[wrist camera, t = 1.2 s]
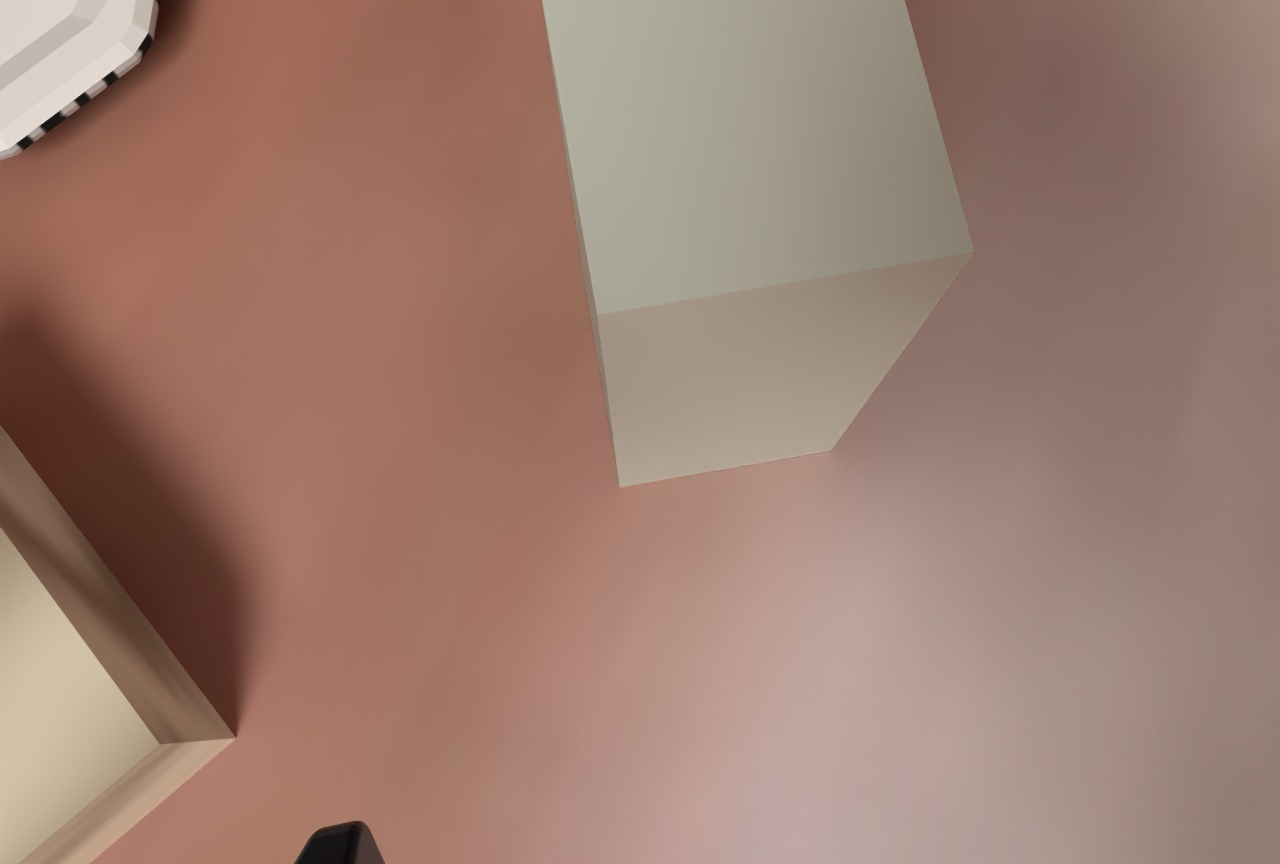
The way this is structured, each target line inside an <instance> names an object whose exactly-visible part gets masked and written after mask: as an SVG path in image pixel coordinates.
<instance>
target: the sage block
mask: <svg viewBox="0 0 1280 864" xmlns="http://www.w3.org/2000/svg"><path fill="white" fill-rule="evenodd" d="M542 4H543V11H544V18H545V24H546V31H547V38H548V44H549V51H550V58H551V64H552V71H553V77H554V84H555V91H556V97H557V104H558V111H559V117H560V124H561V131H562V137H563V144H564V150H565V157H566V164H567V170H568V177H569V184H570V190H571V197H572V204H573V210H574V217H575V224H576V230H577V237H578V243H579V250H580V257H581V263H582V270H583V277H584V283H585V290H586V296H587V301H588V307H589V313H590V319H591V324H592V330H593V336H594V342H595V348H596V353H597V359H598V365H599V371H600V376H601V382H602V388H603V394H604V400H605V405H606V411H607V417H608V423H609V428H610V434H611V440H612V446H613V452H614V457H615V463H616V469H617V475H618V480H619V486H620V487H625V486H631V485H637V484H643V483H649V482H654V481H660V480H666V479H672V478H677V477H683V476H689V475H695V474H701V473H706V472H712V471H718V470H724V469H730V468H735V467H741V466H747V465H753V464H758V463H764V462H770V461H776V460H782V459H787V458H793V457H799V456H805V455H811V454H816V453H822V452H828V451H831V450H832V449H833V447H834V446H835V445H836V443H837V442H838V440H839V439H840V438H841V436H842V435H843V434H844V432H845V431H846V429H847V428H848V427H849V425H850V424H851V423H852V421H853V420H854V418H855V417H856V416H857V414H858V413H859V411H860V410H861V409H862V407H863V406H864V405H865V403H866V402H867V400H868V399H869V398H870V396H871V395H872V394H873V392H874V391H875V389H876V388H877V387H878V385H879V384H880V382H881V381H882V380H883V378H884V377H885V376H886V374H887V373H888V371H889V370H890V369H891V367H892V366H893V365H894V363H895V362H896V360H897V359H898V358H899V356H900V355H901V353H902V352H903V351H904V349H905V348H906V347H907V345H908V344H909V342H910V341H911V340H912V338H913V337H914V336H915V334H916V333H917V331H918V330H919V329H920V327H921V326H922V325H923V323H924V322H925V320H926V319H927V318H928V316H929V315H930V313H931V312H932V311H933V309H934V308H935V307H936V305H937V304H938V302H939V301H940V300H941V298H942V297H943V296H944V294H945V293H946V291H947V290H948V289H949V287H950V286H951V284H952V283H953V282H954V280H955V279H956V278H957V276H958V275H959V273H960V272H961V271H962V269H963V268H964V267H965V265H966V264H967V262H968V261H969V260H970V258H971V257H972V255H973V254H974V253H975V251H974V247H973V243H972V240H971V236H970V233H969V229H968V226H967V222H966V218H965V215H964V211H963V208H962V204H961V200H960V197H959V193H958V190H957V186H956V183H955V179H954V175H953V172H952V168H951V165H950V161H949V157H948V154H947V150H946V147H945V143H944V139H943V136H942V132H941V129H940V125H939V122H938V118H937V114H936V111H935V107H934V104H933V100H932V96H931V93H930V89H929V86H928V82H927V79H926V75H925V71H924V68H923V64H922V61H921V57H920V53H919V50H918V46H917V43H916V39H915V36H914V32H913V28H912V25H911V21H910V18H909V14H908V10H907V7H906V3H905V0H542Z"/></svg>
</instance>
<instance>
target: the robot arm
mask: <svg viewBox="0 0 1280 864" xmlns="http://www.w3.org/2000/svg"><path fill="white" fill-rule="evenodd" d="M294 864H385V863H384V860H383V858H382V856H381V854H380V851H379V849H378V847H377V845H376V842H375V840H374V838H373V836H372V833H371V831H370V829H369V828H368V826H367V825H366V824H365V823H364V822H362V821H352V822H347V823H342V824H338V825H333V826H328V827H324V828H321V829H319V830H317V831H316V832H315V833H314V834H313V835H312V836H311V837H310V839H309V840H308V842H307V843H306V845H305V846H304V848H303V850H302V851H301V853H300V855H299V856H298V858H297V860H296V861H295V863H294Z"/></svg>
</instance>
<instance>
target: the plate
mask: <svg viewBox="0 0 1280 864" xmlns="http://www.w3.org/2000/svg"><path fill="white" fill-rule="evenodd" d="M159 4H160V0H0V160H3V159H6V158H9V157H12V156H15V155H18V154H19V153H21V152H22V151H23V150H25V149H26V148H27V147H29V146H30V145H31V144H32V143H34V142H35V141H36V140H38V139H39V138H40V137H42V136H43V135H44V134H46V133H47V132H48V131H50V130H51V129H52V128H54V127H55V126H56V125H58V124H59V123H60V122H62V121H63V120H64V119H66V118H67V117H68V116H70V115H71V114H72V113H74V112H75V111H76V110H78V109H79V108H80V107H81V106H83V105H84V104H85V103H87V102H88V101H89V100H91V99H92V98H93V97H95V96H96V95H97V94H99V93H100V92H101V91H103V90H104V89H105V88H107V87H108V86H109V85H111V84H112V83H113V82H115V81H116V80H117V79H119V78H120V77H121V76H123V75H124V74H125V73H127V72H128V71H129V70H131V69H132V68H133V67H134V66H136V65H137V64H138V63H140V61H141V60H142V58H143V57H144V55H145V53H146V52H147V50H148V49H149V47H150V46H151V44H152V42H153V40H154V34H155V28H156V22H157V16H158V10H159Z"/></svg>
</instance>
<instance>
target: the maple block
mask: <svg viewBox="0 0 1280 864" xmlns="http://www.w3.org/2000/svg"><path fill="white" fill-rule="evenodd" d="M235 739H236V737H235V735H234V734H233V733H232V731H231V730H230V729H229V728H228V726H227V725H226V724H225V722H224V721H223V720H222V718H221V717H220V716H219V714H218V713H217V712H216V710H215V709H214V708H213V706H212V705H211V704H210V702H209V701H208V700H207V698H206V697H205V696H204V694H203V693H202V692H201V690H200V689H199V688H198V686H197V685H196V684H195V682H194V681H193V680H192V678H191V677H190V676H189V674H188V673H187V672H186V670H185V669H184V668H183V666H182V665H181V664H180V663H179V661H178V660H177V659H176V657H175V656H174V655H173V653H172V652H171V651H170V649H169V648H168V647H167V645H166V644H165V643H164V641H163V640H162V639H161V637H160V636H159V635H158V633H157V632H156V631H155V629H154V628H153V627H152V625H151V624H150V623H149V621H148V620H147V619H146V617H145V616H144V615H143V613H142V612H141V611H140V609H139V608H138V607H137V605H136V604H135V603H134V601H133V600H132V599H131V598H130V596H129V595H128V594H127V592H126V591H125V590H124V588H123V587H122V586H121V584H120V583H119V582H118V580H117V579H116V578H115V576H114V575H113V574H112V572H111V571H110V570H109V568H108V567H107V566H106V564H105V563H104V562H103V560H102V559H101V558H100V556H99V555H98V554H97V552H96V551H95V550H94V548H93V547H92V546H91V544H90V543H89V542H88V540H87V539H86V538H85V536H84V535H83V534H82V533H81V531H80V530H79V529H78V527H77V526H76V525H75V523H74V522H73V521H72V519H71V518H70V517H69V515H68V514H67V513H66V511H65V510H64V509H63V507H62V506H61V505H60V503H59V502H58V501H57V499H56V498H55V497H54V495H53V494H52V493H51V491H50V490H49V489H48V487H47V486H46V485H45V483H44V482H43V481H42V479H41V478H40V477H39V475H38V474H37V473H36V471H35V470H34V469H33V468H32V466H31V465H30V464H29V462H28V461H27V460H26V458H25V457H24V456H23V454H22V453H21V452H20V450H19V449H18V448H17V446H16V445H15V444H14V442H13V441H12V440H11V438H10V437H9V436H8V434H7V433H6V432H5V430H4V429H3V428H2V426H1V425H0V864H89V863H91V862H92V861H93V860H94V859H95V858H96V857H98V856H99V855H100V854H101V853H102V852H103V851H105V850H106V849H107V848H108V847H109V846H110V845H112V844H113V843H114V842H115V841H116V840H118V839H119V838H120V837H121V836H122V835H123V834H125V833H126V832H127V831H128V830H129V829H130V828H132V827H133V826H134V825H135V824H136V823H137V822H139V821H140V820H141V819H142V818H143V817H145V816H146V815H147V814H148V813H149V812H150V811H152V810H153V809H154V808H155V807H156V806H157V805H159V804H160V803H161V802H162V801H163V800H164V799H166V798H167V797H168V796H169V795H170V794H172V793H173V792H174V791H175V790H176V789H177V788H179V787H180V786H181V785H182V784H183V783H184V782H186V781H187V780H188V779H189V778H190V777H191V776H193V775H194V774H195V773H196V772H197V771H199V770H200V769H201V768H202V767H203V766H204V765H206V764H207V763H208V762H209V761H210V760H211V759H213V758H214V757H215V756H216V755H217V754H218V753H220V752H221V751H222V750H223V749H224V748H226V747H227V746H228V745H229V744H230V743H231V742H233V741H234V740H235Z"/></svg>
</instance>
